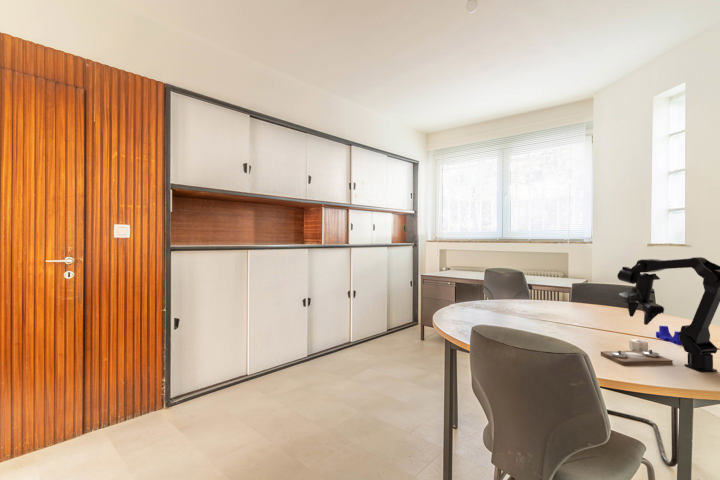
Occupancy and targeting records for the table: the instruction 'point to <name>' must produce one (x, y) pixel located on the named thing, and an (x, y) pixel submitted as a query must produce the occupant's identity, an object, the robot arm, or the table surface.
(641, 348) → the loose gear
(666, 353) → the table surface
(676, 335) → the blue bracket
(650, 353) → the gear peg base
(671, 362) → the gear board
